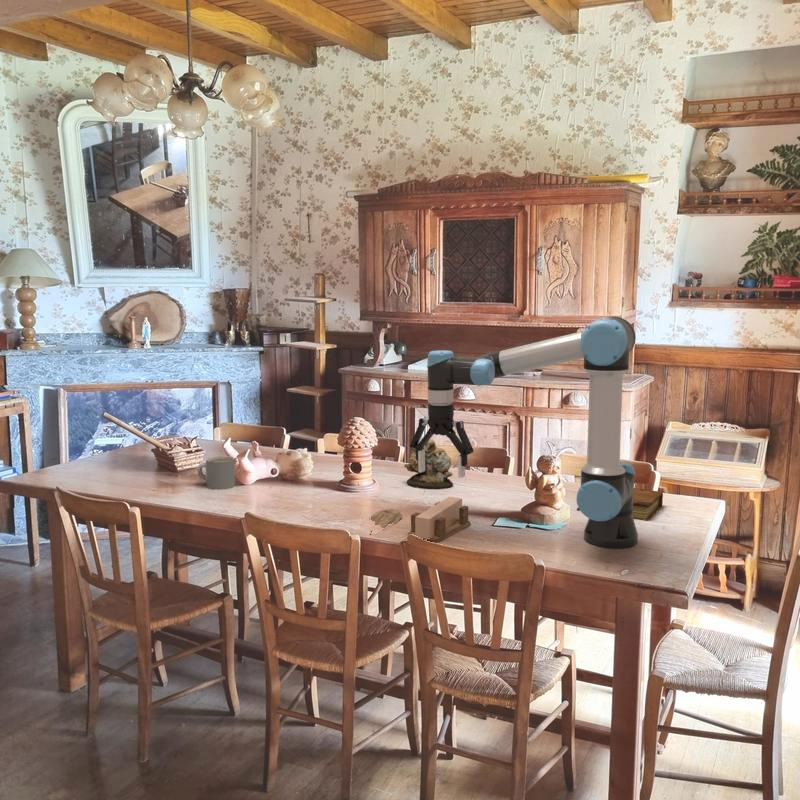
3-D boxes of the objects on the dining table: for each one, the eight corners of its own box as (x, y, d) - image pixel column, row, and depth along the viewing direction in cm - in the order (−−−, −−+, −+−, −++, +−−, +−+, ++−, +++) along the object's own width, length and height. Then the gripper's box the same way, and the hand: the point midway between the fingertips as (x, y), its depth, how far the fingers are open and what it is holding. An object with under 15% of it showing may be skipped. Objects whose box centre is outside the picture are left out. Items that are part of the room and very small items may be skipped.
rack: (470, 524, 257) (470, 505, 256) (437, 542, 240) (437, 521, 239) (442, 519, 262) (442, 500, 261) (408, 536, 245) (408, 516, 244)
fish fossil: (386, 537, 246) (386, 533, 246) (353, 538, 248) (353, 534, 248) (403, 511, 271) (403, 507, 270) (373, 511, 273) (373, 508, 273)
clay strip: (462, 517, 260) (462, 498, 259) (429, 539, 239) (429, 519, 238) (448, 515, 262) (448, 496, 261) (415, 537, 241) (415, 517, 240)
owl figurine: (400, 487, 300) (400, 441, 298) (408, 479, 311) (408, 434, 309) (449, 490, 296) (450, 443, 293) (456, 482, 307) (456, 436, 304)
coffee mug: (240, 483, 305) (239, 457, 303) (225, 490, 296) (224, 463, 294) (209, 480, 310) (207, 454, 308) (193, 487, 300) (192, 460, 299)
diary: (662, 508, 276) (663, 491, 275) (647, 523, 260) (648, 505, 260) (594, 498, 288) (594, 481, 287) (576, 511, 272) (577, 494, 271)
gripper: (484, 404, 241) (484, 476, 245) (411, 398, 255) (412, 466, 258) (472, 408, 235) (472, 481, 238) (398, 402, 248) (399, 472, 252)
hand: (441, 474), depth 248 cm, fingers open, 13 cm apart
